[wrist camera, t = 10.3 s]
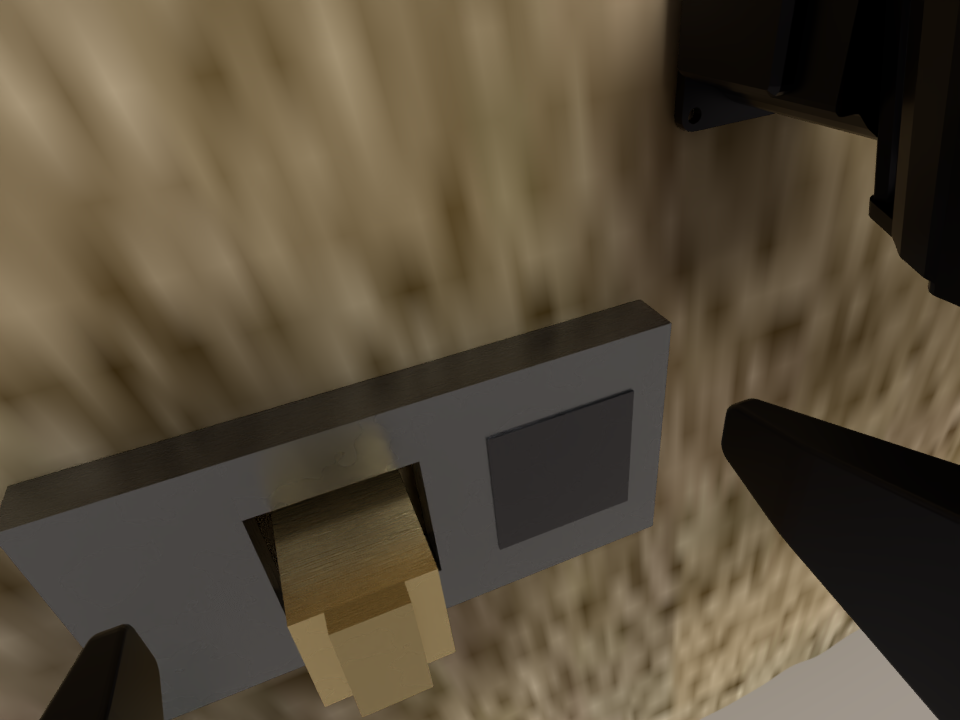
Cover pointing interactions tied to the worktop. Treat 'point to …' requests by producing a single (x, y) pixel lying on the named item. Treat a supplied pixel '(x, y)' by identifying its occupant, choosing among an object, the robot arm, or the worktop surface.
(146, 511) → the grey slotted board
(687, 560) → the worktop surface
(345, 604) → the stepped wooden chunk
